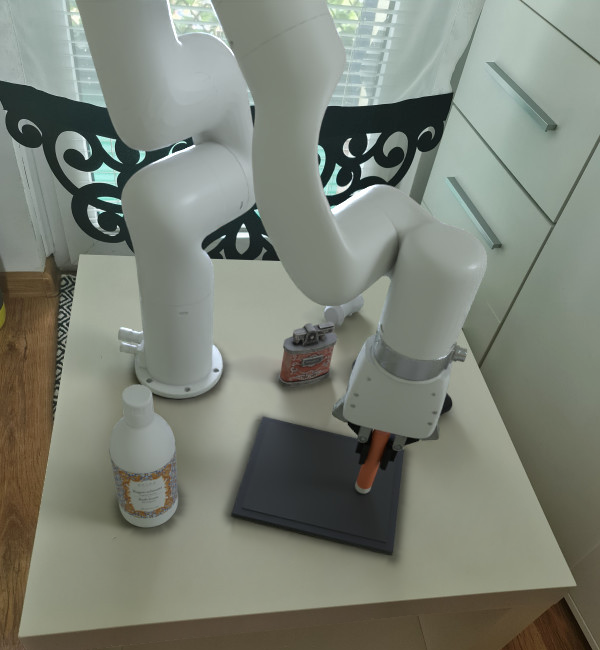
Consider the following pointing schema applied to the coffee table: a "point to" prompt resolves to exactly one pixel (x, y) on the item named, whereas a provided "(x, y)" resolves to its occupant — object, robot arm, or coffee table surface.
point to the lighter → (307, 355)
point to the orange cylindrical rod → (372, 461)
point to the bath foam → (143, 461)
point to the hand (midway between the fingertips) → (373, 457)
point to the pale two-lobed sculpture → (343, 310)
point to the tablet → (318, 487)
